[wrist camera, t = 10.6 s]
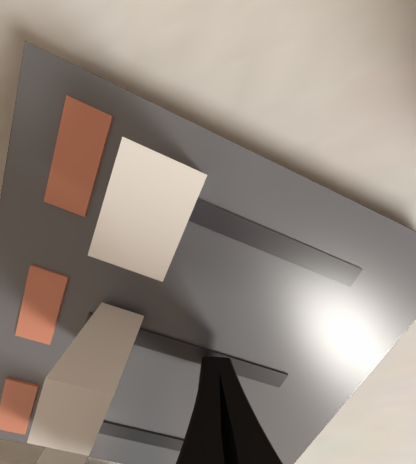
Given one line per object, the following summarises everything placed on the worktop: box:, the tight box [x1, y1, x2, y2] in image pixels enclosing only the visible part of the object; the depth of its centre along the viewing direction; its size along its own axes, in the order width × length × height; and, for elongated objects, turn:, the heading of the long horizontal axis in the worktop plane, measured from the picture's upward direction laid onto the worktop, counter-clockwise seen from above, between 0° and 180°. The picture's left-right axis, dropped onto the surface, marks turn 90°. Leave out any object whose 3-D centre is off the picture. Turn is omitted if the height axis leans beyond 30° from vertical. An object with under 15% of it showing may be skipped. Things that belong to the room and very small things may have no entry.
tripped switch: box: [27, 302, 144, 456], centre depth 8 cm, size 2×3×4 cm, turn 156°
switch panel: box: [0, 41, 416, 464], centre depth 10 cm, size 20×20×6 cm
